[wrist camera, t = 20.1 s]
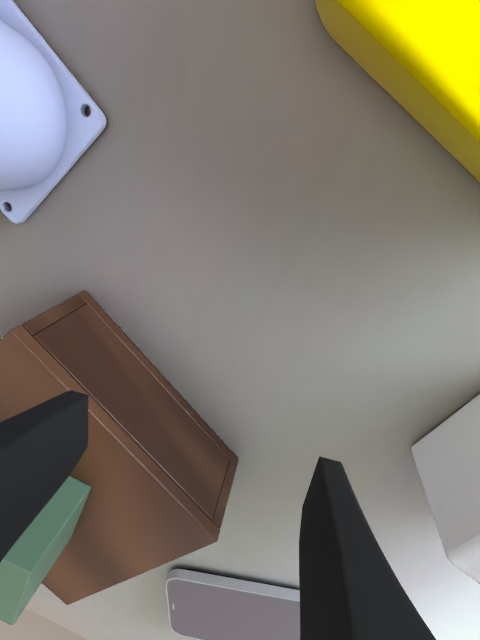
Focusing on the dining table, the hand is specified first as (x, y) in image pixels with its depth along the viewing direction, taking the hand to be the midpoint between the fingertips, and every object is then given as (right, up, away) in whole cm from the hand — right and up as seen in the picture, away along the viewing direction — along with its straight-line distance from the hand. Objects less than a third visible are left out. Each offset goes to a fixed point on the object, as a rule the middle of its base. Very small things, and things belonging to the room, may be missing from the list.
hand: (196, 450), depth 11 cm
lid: (-9, -5, +10) cm, 14 cm away
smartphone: (+3, -19, +19) cm, 27 cm away
